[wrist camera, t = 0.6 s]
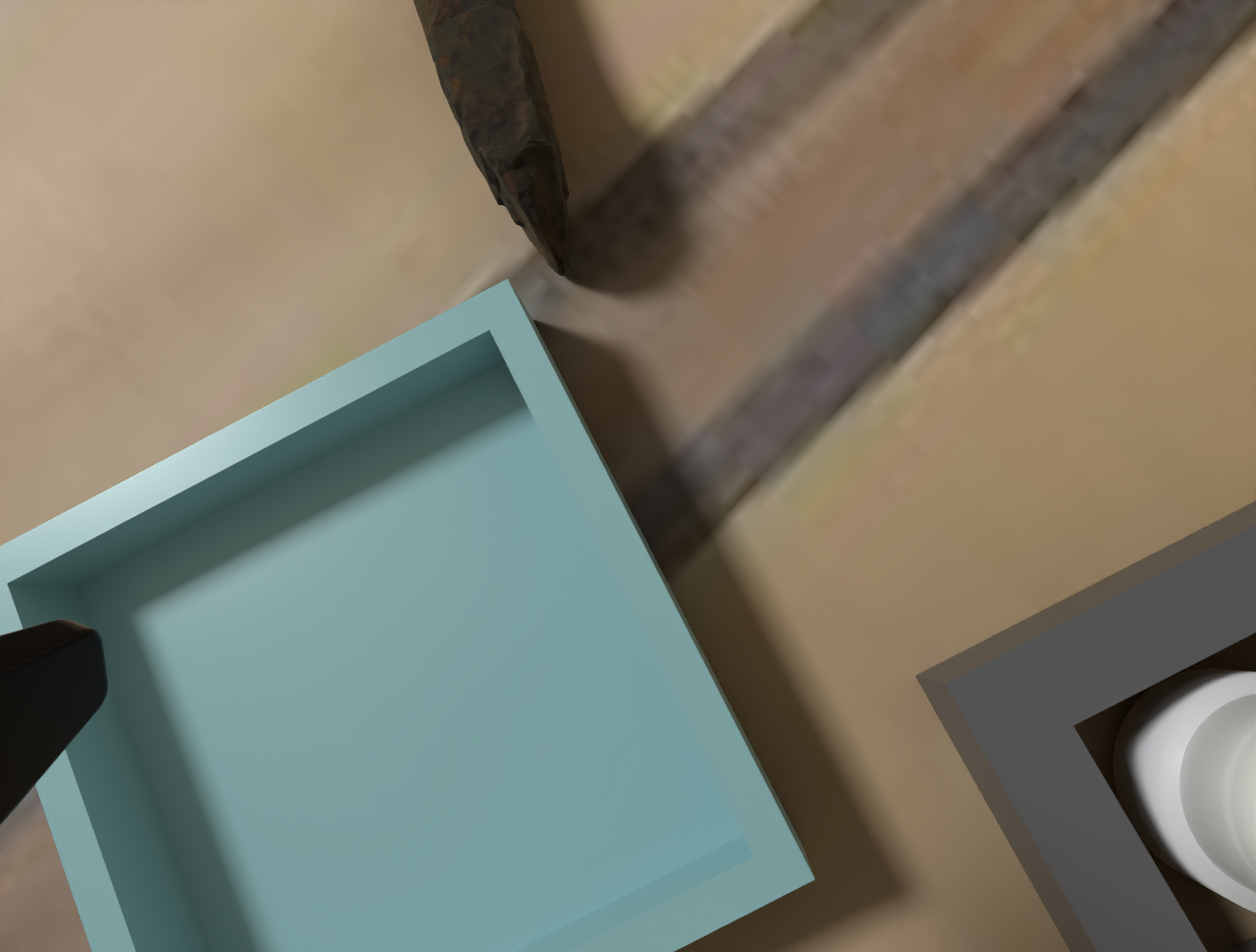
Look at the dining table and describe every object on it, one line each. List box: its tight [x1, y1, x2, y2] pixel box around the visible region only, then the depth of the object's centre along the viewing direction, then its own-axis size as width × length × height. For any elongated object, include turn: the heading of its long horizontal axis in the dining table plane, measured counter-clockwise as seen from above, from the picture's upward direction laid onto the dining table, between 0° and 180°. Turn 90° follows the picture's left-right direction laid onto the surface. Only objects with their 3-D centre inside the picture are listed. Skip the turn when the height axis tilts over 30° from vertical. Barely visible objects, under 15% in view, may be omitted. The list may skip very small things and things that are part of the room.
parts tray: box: [0, 279, 815, 952], centre depth 22 cm, size 16×16×3 cm
